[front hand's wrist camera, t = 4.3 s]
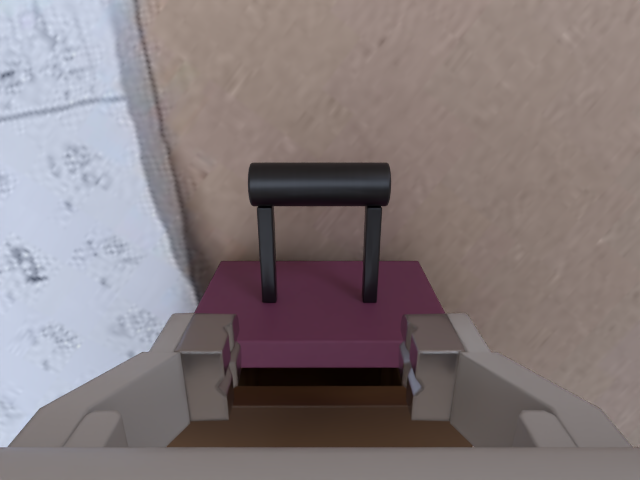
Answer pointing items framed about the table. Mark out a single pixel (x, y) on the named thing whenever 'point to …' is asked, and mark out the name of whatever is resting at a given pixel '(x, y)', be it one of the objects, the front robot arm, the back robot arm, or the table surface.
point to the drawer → (319, 287)
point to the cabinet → (320, 420)
